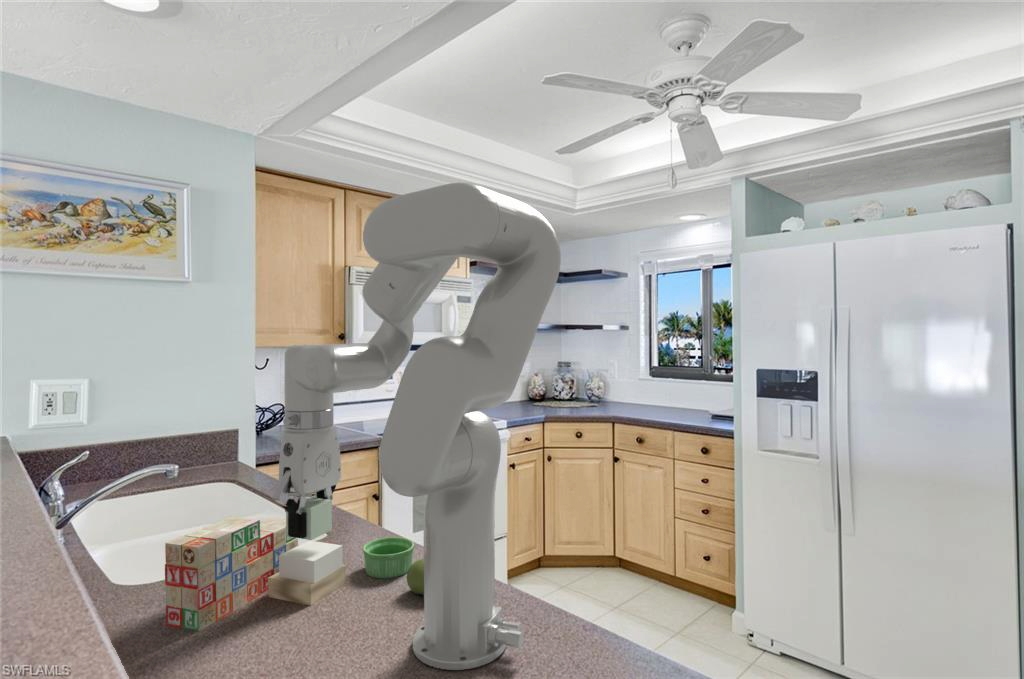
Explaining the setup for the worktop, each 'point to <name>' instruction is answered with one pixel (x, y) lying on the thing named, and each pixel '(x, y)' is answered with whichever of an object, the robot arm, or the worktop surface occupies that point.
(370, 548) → the ramekin
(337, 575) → the tower base
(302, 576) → the tower top
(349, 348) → the robot arm
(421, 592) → the pear
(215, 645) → the worktop surface
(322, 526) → the sage cube
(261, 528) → the stack of blocks
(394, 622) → the worktop surface
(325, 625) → the worktop surface
